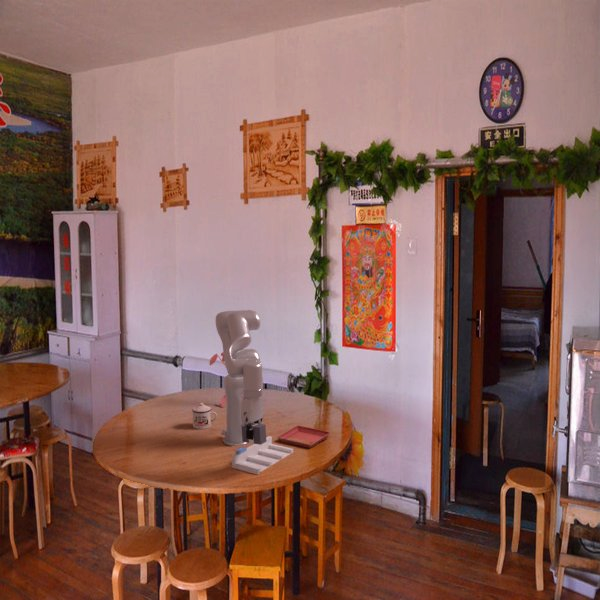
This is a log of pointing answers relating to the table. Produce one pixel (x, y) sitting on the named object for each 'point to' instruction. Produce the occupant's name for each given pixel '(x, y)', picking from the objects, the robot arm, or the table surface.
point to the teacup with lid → (202, 416)
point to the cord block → (255, 434)
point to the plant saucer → (303, 436)
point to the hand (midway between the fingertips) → (253, 436)
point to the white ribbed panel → (259, 456)
